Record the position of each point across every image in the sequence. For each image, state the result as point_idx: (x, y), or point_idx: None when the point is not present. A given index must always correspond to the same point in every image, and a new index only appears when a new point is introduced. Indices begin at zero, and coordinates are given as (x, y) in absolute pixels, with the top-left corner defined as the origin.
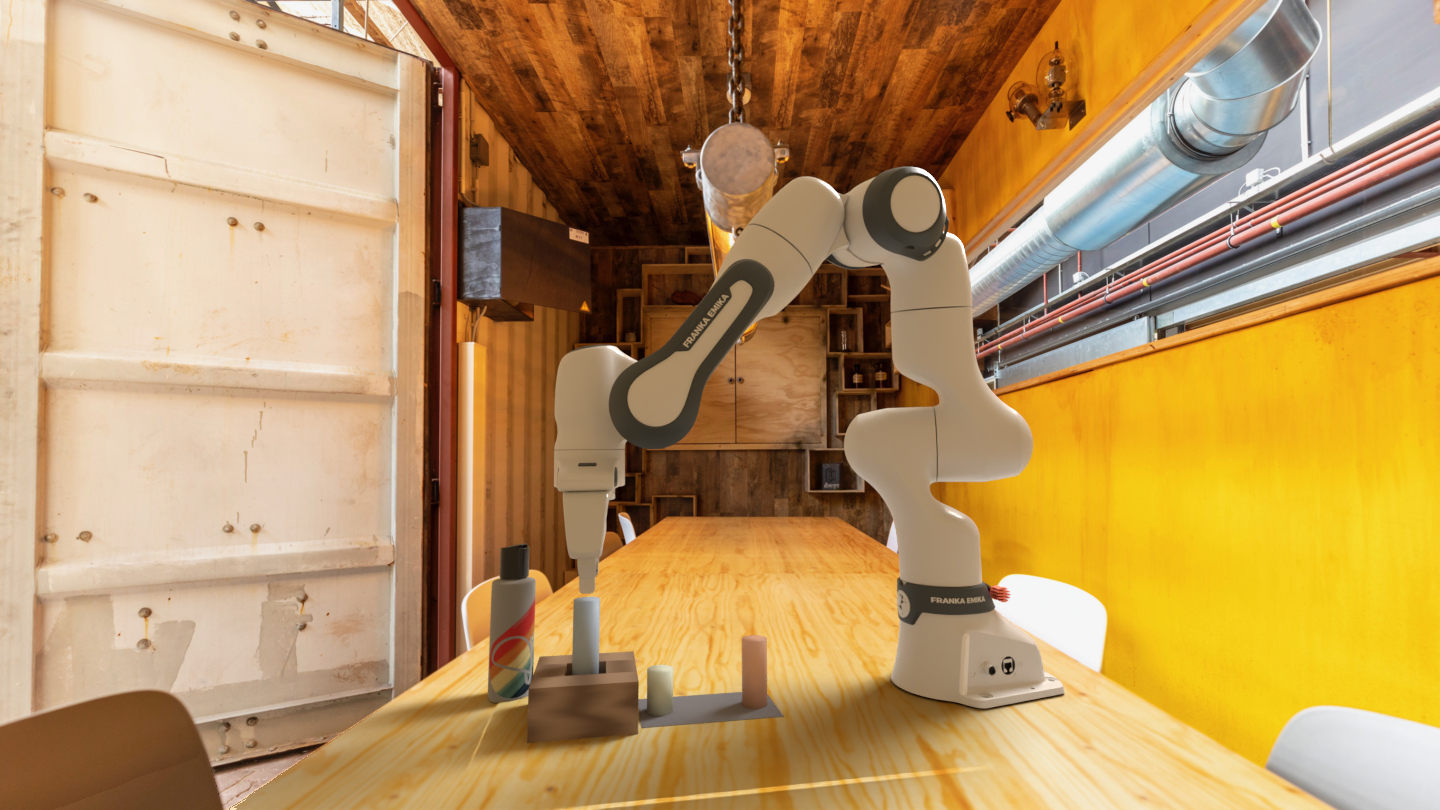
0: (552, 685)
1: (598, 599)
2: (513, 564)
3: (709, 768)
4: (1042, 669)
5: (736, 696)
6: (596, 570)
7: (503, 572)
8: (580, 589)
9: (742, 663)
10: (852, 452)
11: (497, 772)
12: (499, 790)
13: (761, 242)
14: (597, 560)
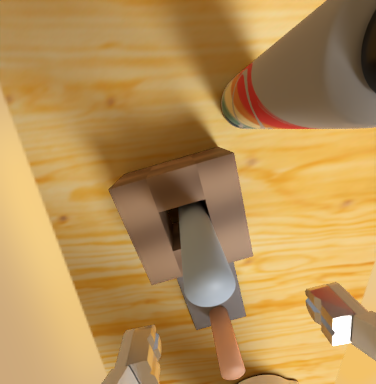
0: (124, 211)
1: (209, 305)
2: None
3: (117, 299)
4: None
5: (233, 301)
6: (320, 322)
7: None
8: (123, 338)
9: (223, 340)
10: None
11: (74, 169)
12: (48, 184)
13: None
14: (359, 346)
